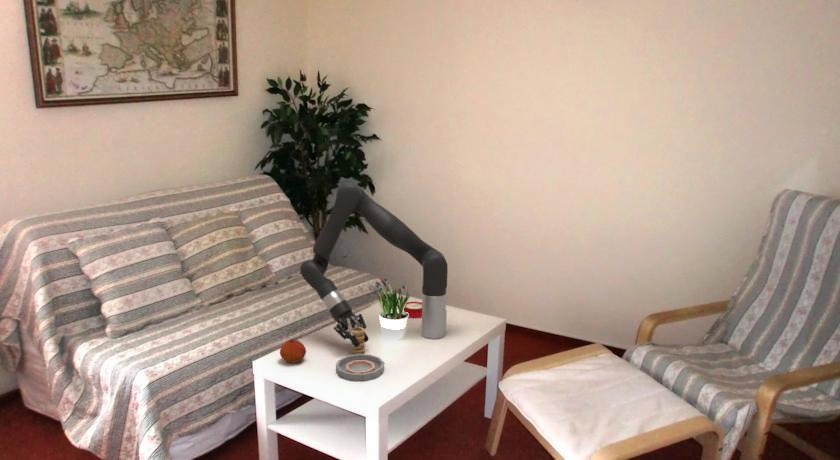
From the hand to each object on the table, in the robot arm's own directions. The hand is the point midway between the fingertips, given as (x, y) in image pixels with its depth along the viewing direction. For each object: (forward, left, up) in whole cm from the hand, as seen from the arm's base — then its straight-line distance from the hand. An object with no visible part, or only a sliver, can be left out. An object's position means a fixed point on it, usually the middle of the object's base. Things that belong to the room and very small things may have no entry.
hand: (362, 343), depth 238 cm
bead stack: (0, -2, -4) cm, 5 cm away
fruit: (+19, -16, -4) cm, 25 cm away
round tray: (+11, +8, -4) cm, 14 cm away
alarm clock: (-45, -7, -5) cm, 46 cm away
